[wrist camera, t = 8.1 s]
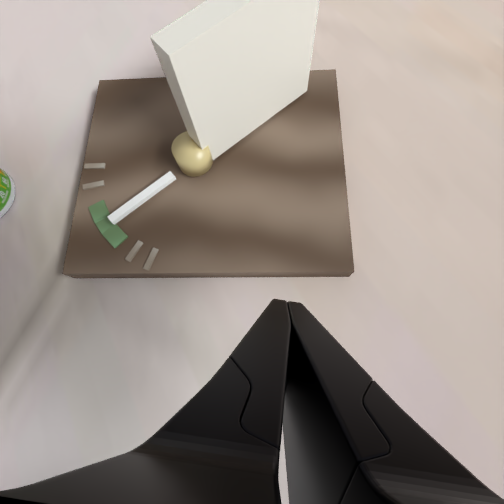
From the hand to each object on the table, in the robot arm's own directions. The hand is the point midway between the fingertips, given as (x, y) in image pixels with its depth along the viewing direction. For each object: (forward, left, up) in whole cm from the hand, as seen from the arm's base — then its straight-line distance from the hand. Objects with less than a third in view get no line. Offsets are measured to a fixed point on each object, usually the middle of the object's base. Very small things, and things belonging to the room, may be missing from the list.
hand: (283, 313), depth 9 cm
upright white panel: (+9, +11, -11) cm, 18 cm away
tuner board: (+8, +10, -12) cm, 18 cm away
